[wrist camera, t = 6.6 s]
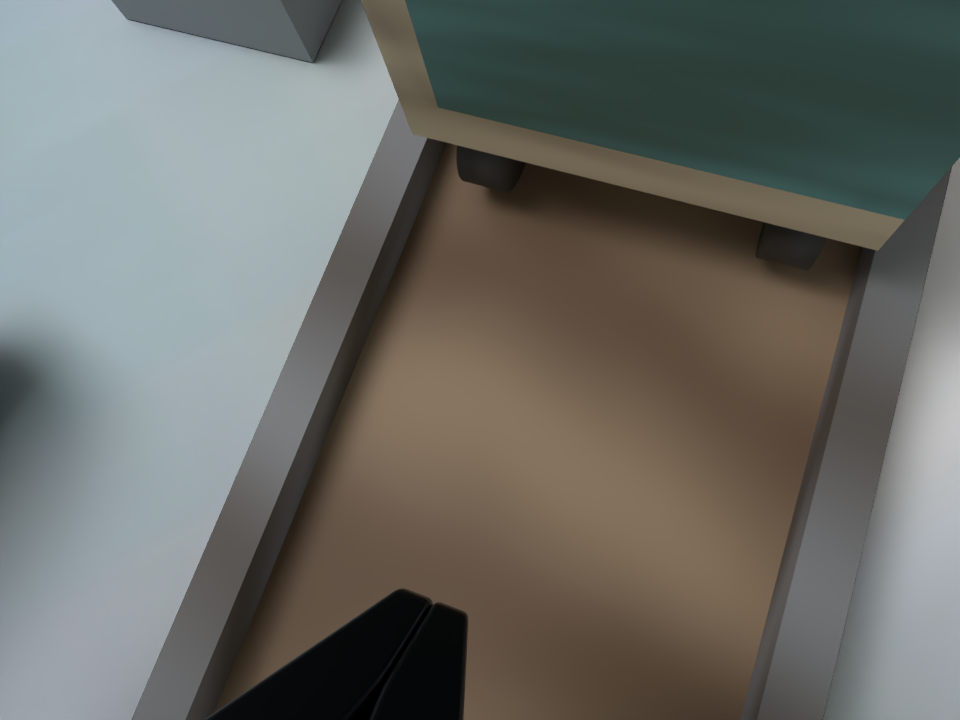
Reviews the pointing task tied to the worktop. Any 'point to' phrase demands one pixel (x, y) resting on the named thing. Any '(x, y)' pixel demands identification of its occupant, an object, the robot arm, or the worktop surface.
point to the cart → (695, 102)
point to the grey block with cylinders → (243, 21)
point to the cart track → (564, 450)
